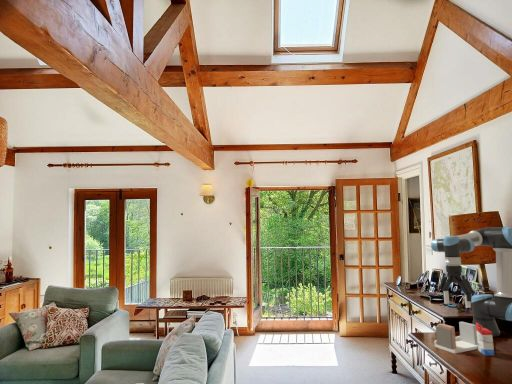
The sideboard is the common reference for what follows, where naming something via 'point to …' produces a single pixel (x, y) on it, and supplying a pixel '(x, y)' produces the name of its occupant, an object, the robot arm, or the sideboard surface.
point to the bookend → (468, 333)
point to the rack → (451, 340)
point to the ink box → (484, 340)
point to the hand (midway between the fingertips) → (457, 305)
